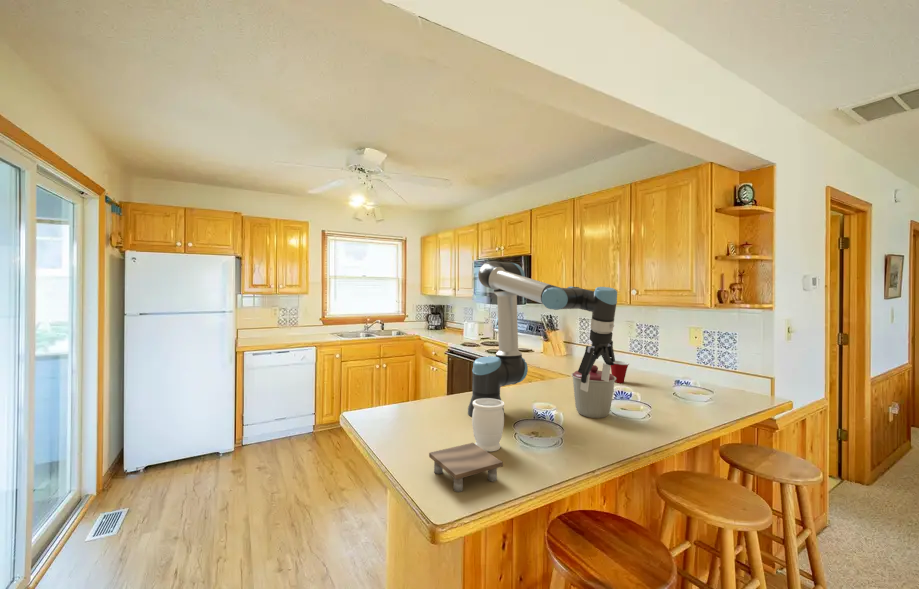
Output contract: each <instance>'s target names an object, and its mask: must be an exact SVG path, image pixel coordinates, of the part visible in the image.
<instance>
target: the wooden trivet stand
mask: <svg viewBox="0 0 919 589" xmlns="http://www.w3.org/2000/svg"><path fill="white" fill-rule="evenodd" d="M428 456H429V458H430V459H431V460H432V461H433V463H434V464H433V465H434V466H433V468H434V469H433V472H434V474H436V475H441V474H443V470H444V471H445V472H446V473H447V474H448V475H449V476H450V477H452V478H453V492H456V493H461V492H463V490H464V478H466V477H469V476H474V475H478V474H481V473H484V472H487V480H488V481H489V482H492V483H494V482H496V481H497V478H498V477H497V475H498V474H497V472H498V468H502V467H504V466H503V465H504V462H503V461H502V460H501V459H499V458H497V457H495V456H494V455H493V454H491V453H489V452H487V451H485V450H483V449H482V448H480V447H479V446H477V445H476V444H475V443H474V442H470V443H466V444H462V445H457V446H453V447H449V448H444V449H439V450H436V451H431V452H428Z"/></svg>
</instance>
